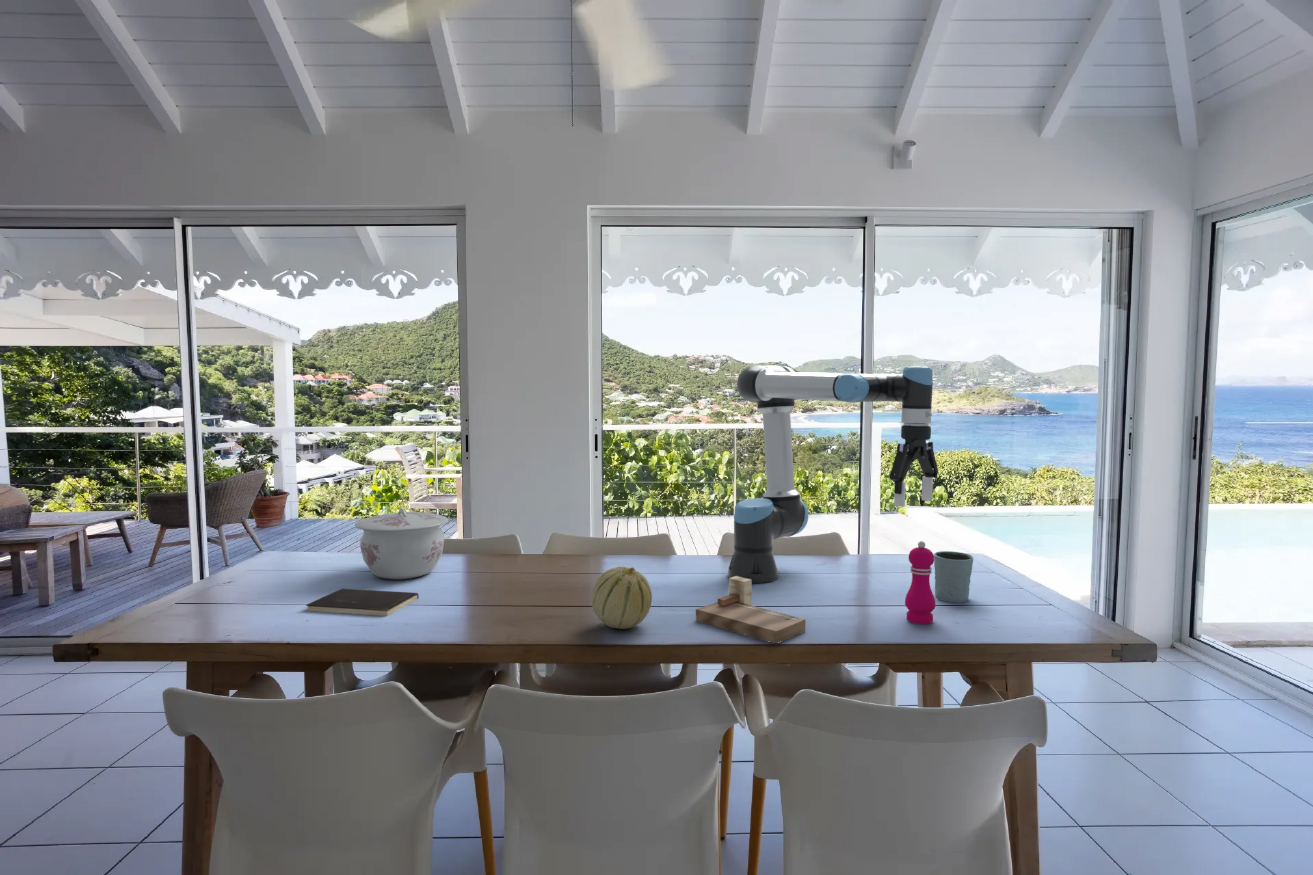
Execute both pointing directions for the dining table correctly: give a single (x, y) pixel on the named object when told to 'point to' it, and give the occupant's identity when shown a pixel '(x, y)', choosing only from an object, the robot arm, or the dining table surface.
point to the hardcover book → (363, 602)
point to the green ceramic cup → (952, 575)
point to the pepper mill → (920, 586)
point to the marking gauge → (737, 591)
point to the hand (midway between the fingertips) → (913, 503)
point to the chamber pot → (402, 543)
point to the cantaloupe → (621, 597)
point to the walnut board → (751, 621)
